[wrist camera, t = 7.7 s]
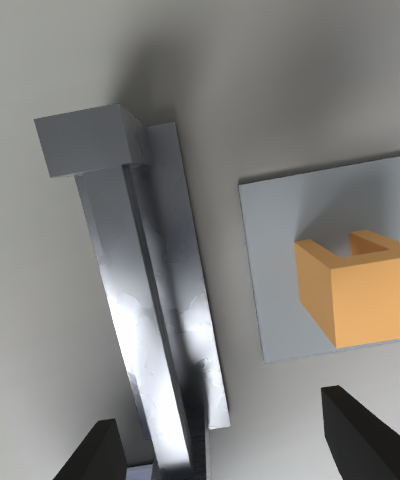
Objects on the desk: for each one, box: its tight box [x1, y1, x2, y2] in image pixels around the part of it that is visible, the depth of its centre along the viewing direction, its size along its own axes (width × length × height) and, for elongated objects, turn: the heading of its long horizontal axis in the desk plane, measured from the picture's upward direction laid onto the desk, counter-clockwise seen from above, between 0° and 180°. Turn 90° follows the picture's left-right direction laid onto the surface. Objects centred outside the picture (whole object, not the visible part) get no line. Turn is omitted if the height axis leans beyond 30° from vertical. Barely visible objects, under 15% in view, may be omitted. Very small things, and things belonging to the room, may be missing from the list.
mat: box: [238, 156, 400, 363], centre depth 19 cm, size 12×10×1 cm
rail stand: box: [34, 103, 231, 480], centre depth 16 cm, size 20×6×7 cm, turn 10°
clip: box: [294, 230, 400, 349], centre depth 16 cm, size 4×4×5 cm
